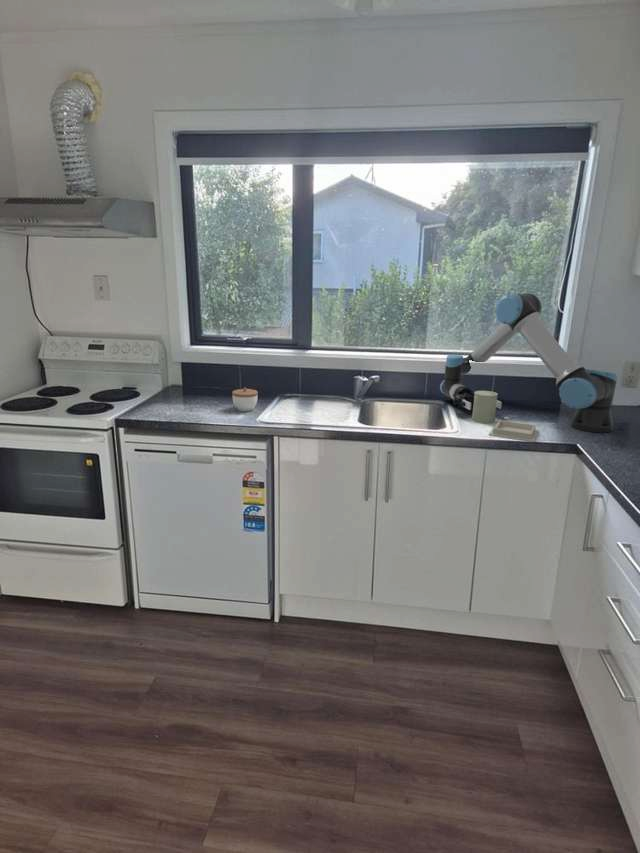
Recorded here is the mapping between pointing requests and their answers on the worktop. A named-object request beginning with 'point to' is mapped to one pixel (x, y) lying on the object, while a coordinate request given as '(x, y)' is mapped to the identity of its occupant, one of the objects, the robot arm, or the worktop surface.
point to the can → (484, 406)
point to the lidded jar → (244, 399)
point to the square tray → (514, 430)
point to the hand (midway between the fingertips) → (485, 406)
